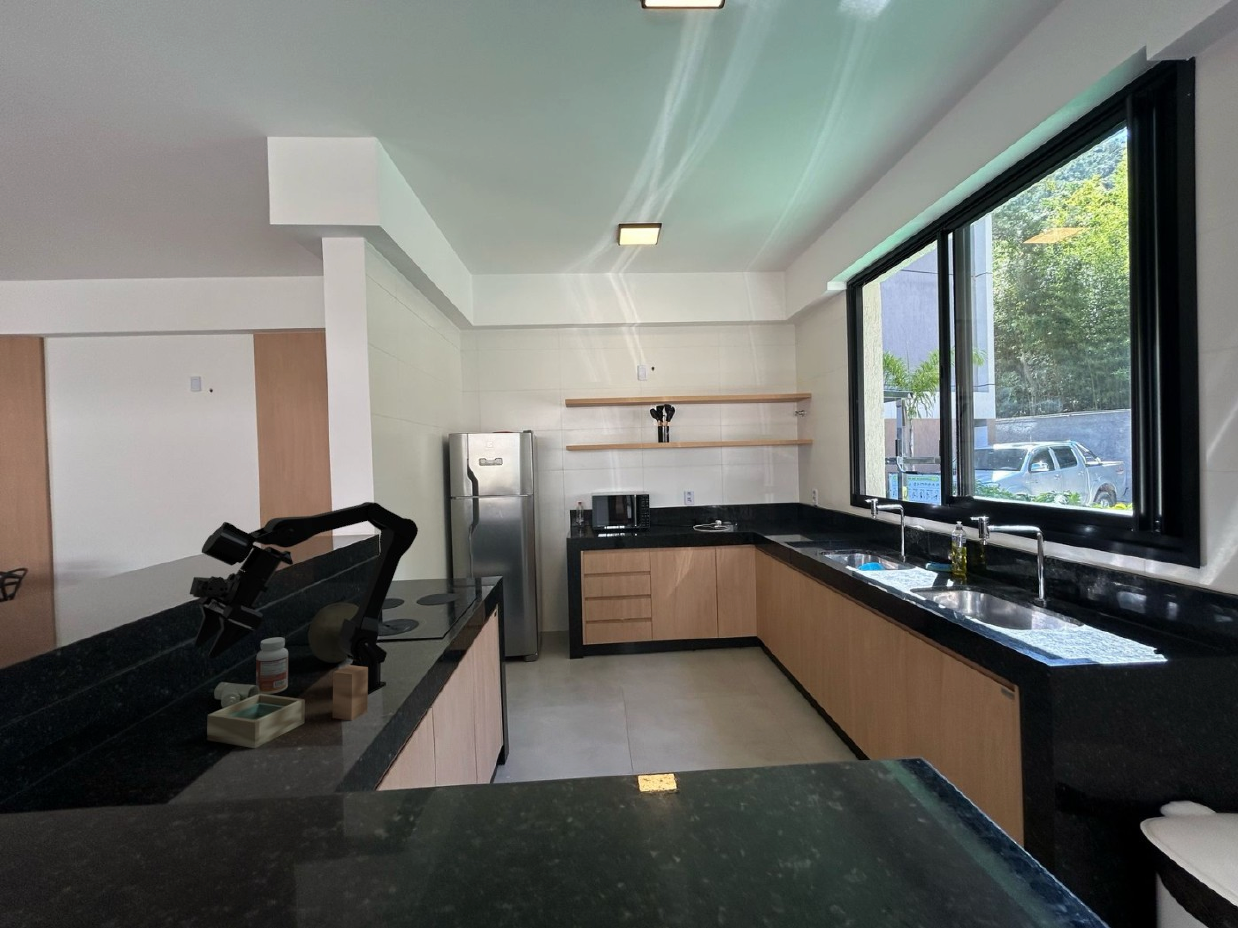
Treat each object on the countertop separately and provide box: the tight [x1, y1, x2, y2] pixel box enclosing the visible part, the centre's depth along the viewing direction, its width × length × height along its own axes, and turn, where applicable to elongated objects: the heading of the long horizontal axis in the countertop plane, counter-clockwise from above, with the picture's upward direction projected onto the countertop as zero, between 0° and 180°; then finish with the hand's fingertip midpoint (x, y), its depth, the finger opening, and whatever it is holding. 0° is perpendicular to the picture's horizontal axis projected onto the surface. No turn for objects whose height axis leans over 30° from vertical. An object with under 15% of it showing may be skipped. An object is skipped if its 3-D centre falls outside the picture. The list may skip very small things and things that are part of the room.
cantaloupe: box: [307, 602, 359, 664], centre depth 151 cm, size 14×14×15 cm
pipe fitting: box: [213, 681, 259, 709], centre depth 124 cm, size 8×4×7 cm
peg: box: [332, 664, 369, 721], centre depth 119 cm, size 4×4×9 cm
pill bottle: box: [255, 636, 289, 695], centre depth 132 cm, size 6×6×11 cm
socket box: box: [206, 694, 306, 749], centre depth 111 cm, size 11×11×4 cm
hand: (203, 652), depth 111 cm, fingers open, 9 cm apart
